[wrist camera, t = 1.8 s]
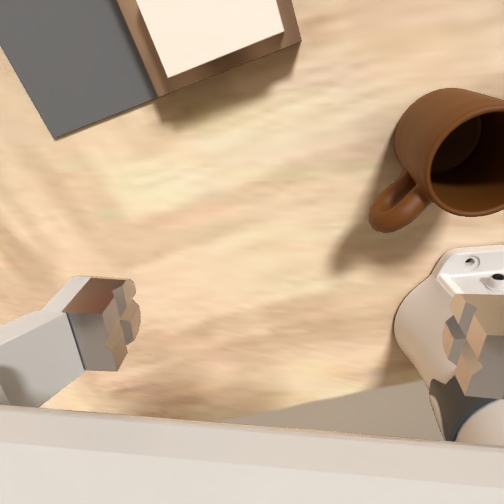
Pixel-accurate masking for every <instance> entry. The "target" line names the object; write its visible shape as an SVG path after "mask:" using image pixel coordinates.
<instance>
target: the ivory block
mask: <svg viewBox="0 0 504 504" xmlns="http://www.w3.org/2000/svg"><path fill="white" fill-rule="evenodd" d="M136 1H137V4H138V6H139V9H140V11H141V13H142V16H143V18H144V21H145V23H146V26H147V28H148V30H149V33H150V35H151V38H152V40H153V43H154V45H155V48H156V50H157V52H158V55H159V57H160V60H161V62H162V65H163V67H164V69H165V72H166V74H167V77H168V78H169V77H172V76H176V75H178V74H180V73H183V72H185V71H188V70H190V69H193V68H195V67H198V66H200V65H203V64H205V63H208V62H210V61H213V60H215V59H218V58H220V57H223V56H225V55H228V54H230V53H233V52H235V51H238V50H240V49H243V48H245V47H247V46H250V45H252V44H255V43H257V42H260V41H262V40H265V39H267V38H270V37H272V36H275V35H277V34H280V33H282V32H285V31H284V27H283V23H282V20H281V16H280V12H279V9H278V5H277V1H276V0H136Z"/></svg>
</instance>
